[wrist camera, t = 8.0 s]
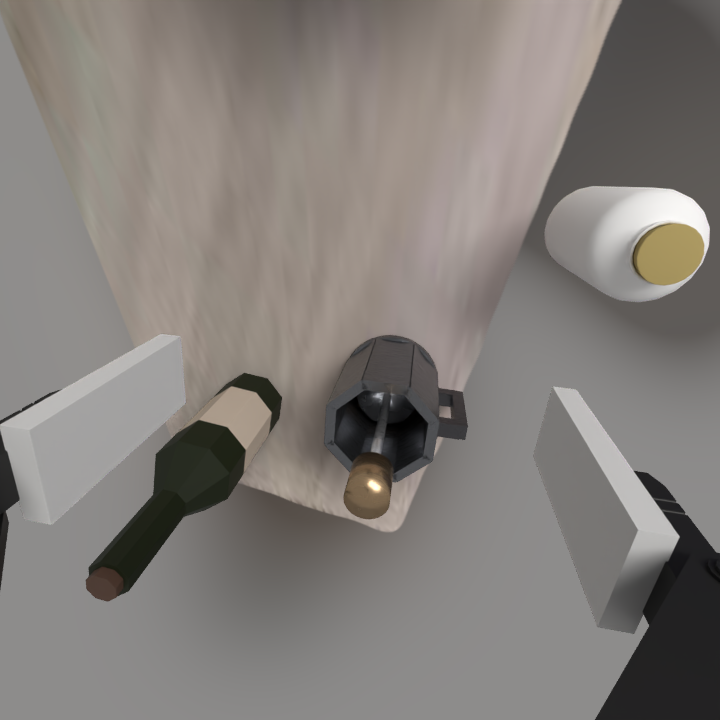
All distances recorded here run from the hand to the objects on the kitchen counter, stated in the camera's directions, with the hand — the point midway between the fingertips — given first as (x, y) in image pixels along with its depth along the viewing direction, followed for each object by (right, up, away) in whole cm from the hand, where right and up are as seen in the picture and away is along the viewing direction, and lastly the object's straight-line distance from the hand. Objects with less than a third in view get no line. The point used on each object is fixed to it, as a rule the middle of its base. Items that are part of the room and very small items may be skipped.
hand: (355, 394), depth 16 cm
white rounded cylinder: (+23, +15, +30) cm, 41 cm away
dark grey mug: (+5, -1, +40) cm, 40 cm away
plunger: (+3, -3, +36) cm, 36 cm away
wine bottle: (-14, -4, +44) cm, 47 cm away
